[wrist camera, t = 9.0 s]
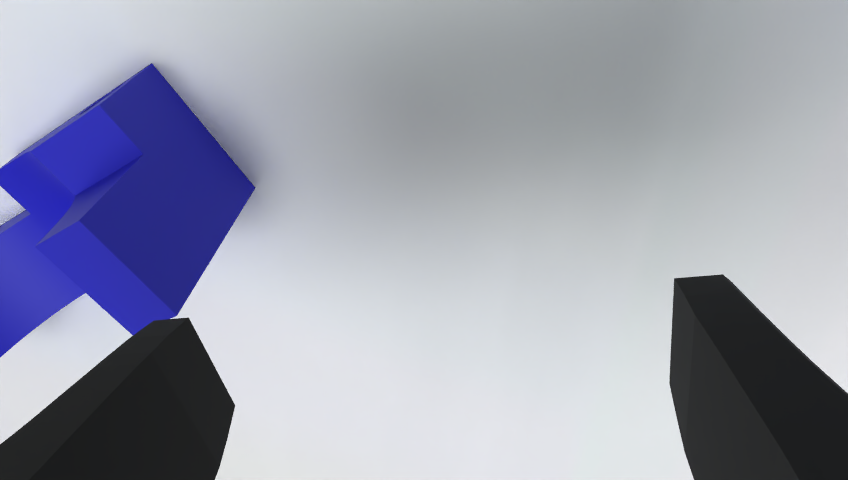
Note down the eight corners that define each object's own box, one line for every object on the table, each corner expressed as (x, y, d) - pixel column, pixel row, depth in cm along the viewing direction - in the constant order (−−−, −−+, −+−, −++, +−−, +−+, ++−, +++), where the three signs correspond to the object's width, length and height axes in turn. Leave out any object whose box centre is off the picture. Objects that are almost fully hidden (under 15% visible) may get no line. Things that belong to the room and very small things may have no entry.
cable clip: (154, 61, 17) (22, 164, 13) (256, 184, 20) (177, 315, 15) (-86, 224, 22) (-252, 348, 17) (19, 311, 24) (-103, 444, 19)
